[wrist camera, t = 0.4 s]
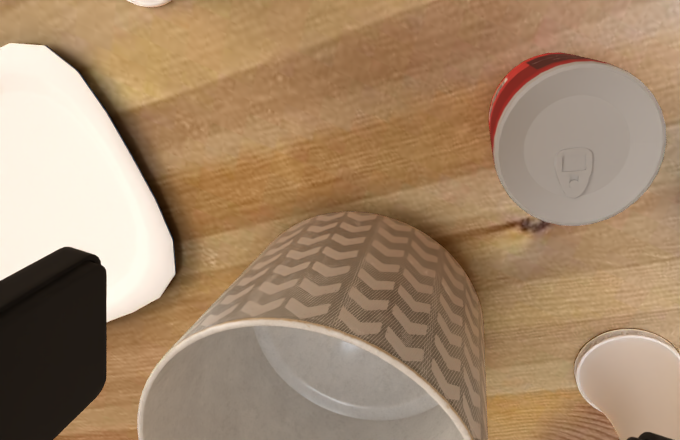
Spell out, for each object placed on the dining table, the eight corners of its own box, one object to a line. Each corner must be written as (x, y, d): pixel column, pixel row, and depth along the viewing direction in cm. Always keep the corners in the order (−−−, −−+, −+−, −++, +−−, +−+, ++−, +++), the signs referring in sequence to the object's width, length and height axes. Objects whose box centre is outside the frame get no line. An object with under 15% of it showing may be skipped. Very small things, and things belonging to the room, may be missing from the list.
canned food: (508, 185, 36) (521, 245, 26) (471, 80, 34) (470, 101, 24) (623, 148, 33) (687, 199, 23) (590, 31, 31) (644, 32, 22)
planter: (415, 431, 46) (382, 657, 29) (234, 332, 47) (104, 496, 30) (530, 270, 38) (575, 456, 21) (309, 156, 39) (190, 249, 23)
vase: (664, 315, 37) (727, 410, 27) (696, 397, 38) (765, 512, 29) (559, 344, 39) (585, 438, 30) (593, 419, 41) (627, 530, 32)
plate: (30, 345, 54) (17, 354, 53) (-114, 131, 49) (-134, 134, 47) (212, 280, 45) (203, 289, 44) (61, 7, 40) (45, 7, 38)
